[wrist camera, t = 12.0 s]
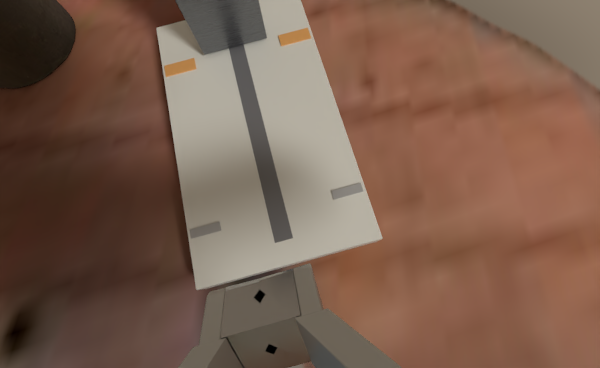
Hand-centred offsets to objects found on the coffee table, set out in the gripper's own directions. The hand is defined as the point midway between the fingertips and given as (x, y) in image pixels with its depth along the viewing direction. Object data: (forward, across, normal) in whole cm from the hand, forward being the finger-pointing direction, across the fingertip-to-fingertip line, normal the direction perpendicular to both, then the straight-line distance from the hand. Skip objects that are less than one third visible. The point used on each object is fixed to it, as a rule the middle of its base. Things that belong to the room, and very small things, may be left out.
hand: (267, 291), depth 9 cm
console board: (+17, 0, 0) cm, 17 cm away
